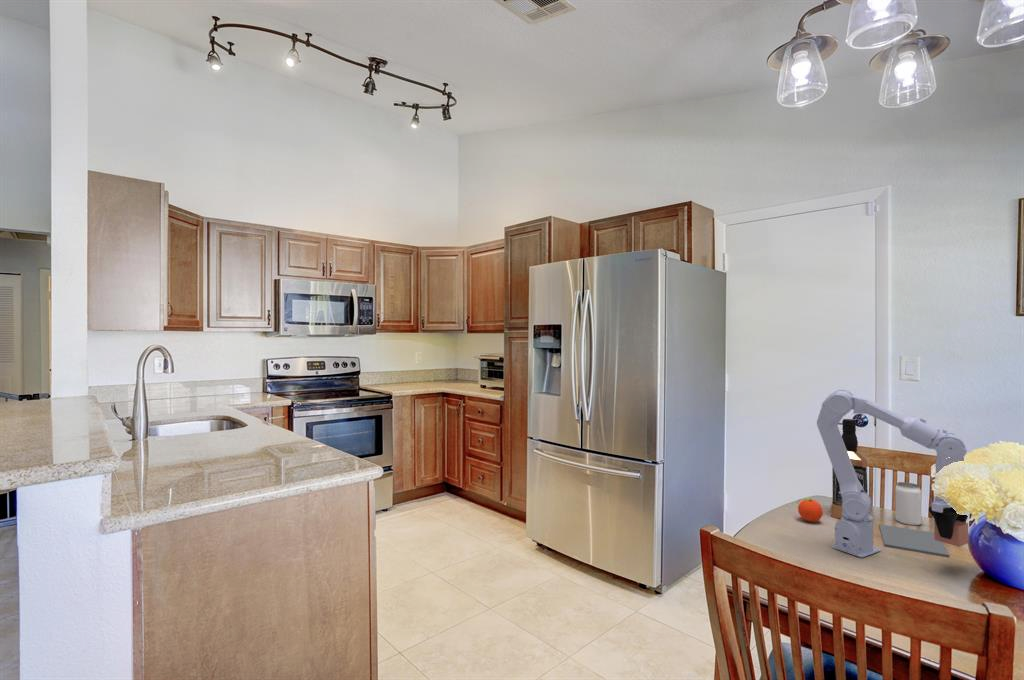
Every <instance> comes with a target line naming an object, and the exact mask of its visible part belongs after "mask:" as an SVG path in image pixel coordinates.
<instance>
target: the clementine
mask: <svg viewBox="0 0 1024 680" xmlns="http://www.w3.org/2000/svg"><path fill="white" fill-rule="evenodd" d="M799 501H800V502H799V504H798V507H797V511H798V514H799V516H800V517H801V518H802V519H803V520H805V521H807V522H811V523H813V522H818V521H820V520H821V518H822V517H823V515H824V514H823V513H824V512H823V511H824V510H823V508H822V506H821V504H820V503H819V502H818V501H816V500H814V499H812V498H811V499H810V498H804V499H802V498H800V499H799Z"/></svg>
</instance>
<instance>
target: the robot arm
mask: <svg viewBox="0 0 1024 680" xmlns="http://www.w3.org/2000/svg"><path fill="white" fill-rule="evenodd" d="M852 410H853V411H852ZM819 411H820V412H819V414H818V417H817V420H816V425H817V429H818V432H819V434H820V437H821V439H822V442H823V444H824V447H825V450H826V453H827V455H828V457H829V460H830V464H831V466H833V469H834V471H835V474H836V477H837V479H838V482H839V485H840V492H841V496H842V499H843V502H842V509H843V511H842V517H841V518H840V520H838V521H837V522H836V523H835V525H834V544H833V545H831V548H833V549H836V550H839V551H842V552H845V553H847V554H850V555H853V556H856V557H858V558H865V557H868V556H870V555H874V554H876V553H879V552H881V549H880V548H879V547H875V546H874V517H873V516H872V515H871V508H872V504H873V500H872V498H871V496H870V495H869V493H868V494H867V493H866V492H865V491H864V489H863V487H862V485H861V483H860V482H859V480H858V478H857V475H856V473H855V470H854V468H853V465H852V462H851V460H850V457H849V455H848V452H847V449H846V447H845V444H844V441H843V439H842V434H841V431H840V428H839V424H840V422H841V420H843V419H844V417H845V416H846V415H847V414H848V413H850V412H851V411H852V414H855V415H857V414H859V415H862V414H863V415H865V414H866V415H869V416H871V417H873V418H876V419H878V420H880V421H882V422H885V423H886V424H889V425H891V426H893V427H894V428H898V429H899V431H900V434H901V436H902V437H905V438H907V439H908V440H911V441H913V442H914V443H917V444H918V445H921V446H923V447H925V448H927V449H929V450H935V452H936V461H935V466H934V467H935V474H936V473H938V472H939V471H940V470H941V469H942V468H943V467H944V466H947V465H949V464H951V463H953V462H958V461H964V459H965V456H966V455H967V452H968V451H967V448H966V445H965V443H964V440H962V438H960V437H959V436H958V435H956V434H955V433H953V432H948V430H947V429H945V428H942V429H941V428H940V427H939V428H938V427H937V426H934V425H932V424H930V423H928V422H927V420H926V419H925V418H923V417H919V418H917V417H915V416H914V417H912V416H911V417H907V418H906V417H904V416H902V415H900V414H898V413H896V412H894V411H892V410H890V409H888V408H886V407H885V406H883V405H880V404H879V403H876V402H874V401H873V400H871V399H868V398H866V397H864V396H861V395H859V394H856V393H854V394H853V393H852V392H850V391H849V390H845V389H837V390H835V391H834V392H832V393H831V394H829V395H828V396H827V397H826V398H825V400H824V401H822V404H821V409H820V410H819ZM948 457H950V458H948ZM946 458H947V459H946ZM928 511H929V513H930V515H931V516H932V518H933V521H934V520H935V522H936V525H937V528H938V532H939V535H940V537H943V538H947V539H951V538H952V535H953V528H954V523H955V521H956V520H957V521H961V522H965V523H967V519H968V517H969V516H967V515H959V514H957V513H956V511H955V510H954V509H953V508H952V507H950V506H949V505H948V504H947V502H945V501H944V500H943V499H941V498H939V497H937V496H936V495H935V496H934V499H933V502H931V506H929V507H928ZM869 513H870V514H869Z"/></svg>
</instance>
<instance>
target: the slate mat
mask: <svg viewBox="0 0 1024 680" xmlns="http://www.w3.org/2000/svg"><path fill="white" fill-rule="evenodd" d="M879 529H880V534H881V537H882V542H883V546H884V547H886V548H887V547H888V548H894V549H898V550H904V551H911V552H917V553H922V554H929V555H935V556H940V557H946V558H950V554H949V552H948V549H947V548H946V545H945V543H943V542H940V541H936V540H934V531H933V532H931V531H925V530H921V529H914V528H907V527H899V526H894V525H887V524H881V523H880V524H879Z"/></svg>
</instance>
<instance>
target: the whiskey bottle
mask: <svg viewBox="0 0 1024 680" xmlns="http://www.w3.org/2000/svg"><path fill="white" fill-rule="evenodd" d="M856 422H857V421H856V420H855V419H852V418H842V422H841V423H842V434H841V436H842V439H843V441H844V444H845V447H846V449H847V452H848V455H849V457H850V460H851V462H852V465H853V468H854V470H855V473H856V475H857V478H858V480H859V482H860V483H861V485H862V487H863V489H864V491H865V492H866V493H867V494H868V495H869V492H868V466H869V456H868V455H866V454H864V453H863V452H861V451H860V450H858V445H859V442H858V436H857V433H856V431H857V427H856V426H857V423H856ZM831 466H832V465H831ZM842 502H843V499H842V496H841V492H840V485H839V482H838V479H837V477H836V474H835V471H834V469H833V466H832V502H831V505H830V507H831V508H830V516H831V517H832V518H836V519H841V517H842V511H843V509H842ZM869 514H870V515H871V512H870V513H869Z"/></svg>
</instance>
